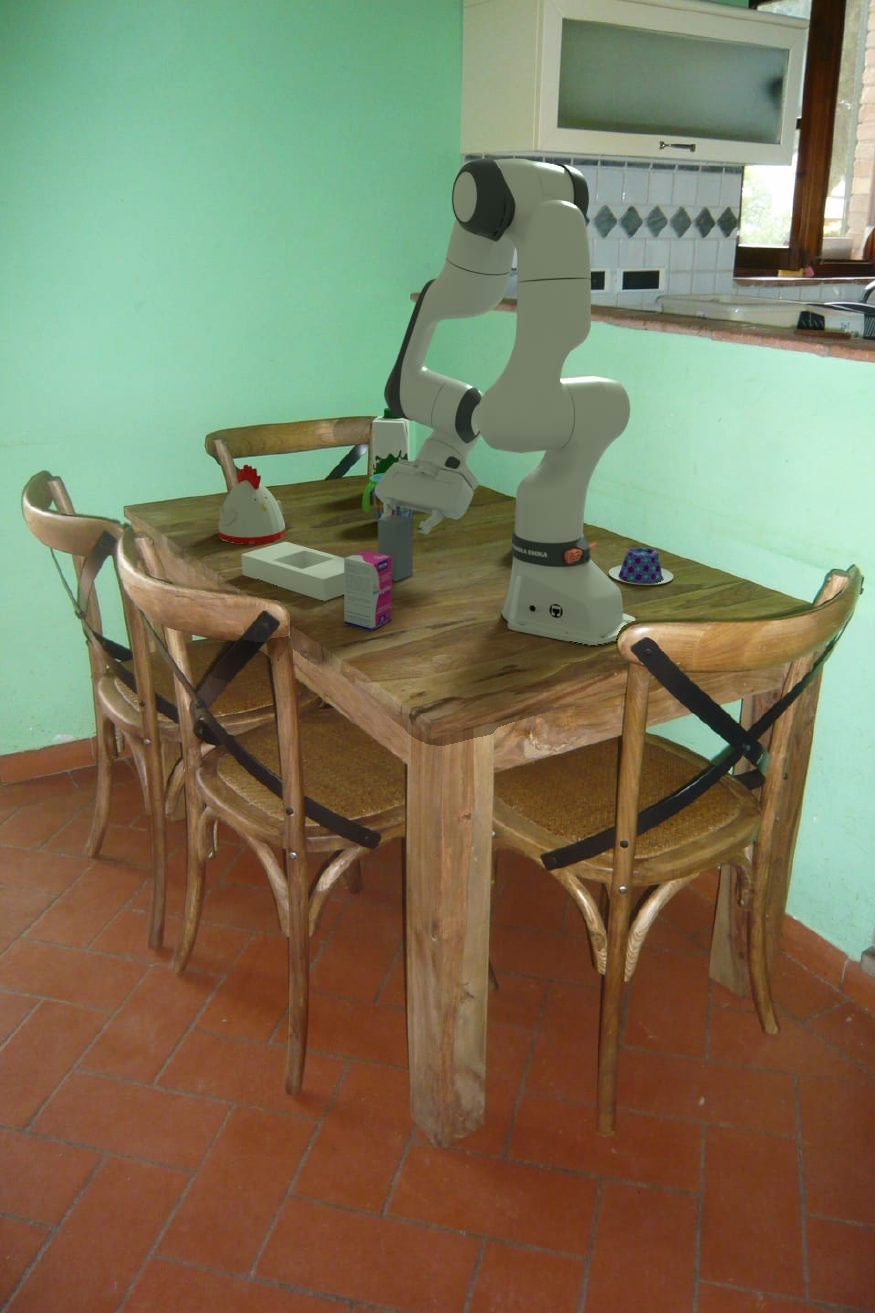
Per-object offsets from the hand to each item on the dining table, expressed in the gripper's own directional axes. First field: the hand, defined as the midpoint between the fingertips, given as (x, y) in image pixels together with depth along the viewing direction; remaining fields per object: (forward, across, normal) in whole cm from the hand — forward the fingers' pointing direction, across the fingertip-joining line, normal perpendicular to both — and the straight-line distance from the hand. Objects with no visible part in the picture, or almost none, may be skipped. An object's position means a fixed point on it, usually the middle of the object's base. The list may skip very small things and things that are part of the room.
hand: (403, 527), depth 184 cm
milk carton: (-25, -44, +38) cm, 63 cm away
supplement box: (+23, +13, -10) cm, 28 cm away
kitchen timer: (+8, -41, +5) cm, 42 cm away
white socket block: (+17, -11, -5) cm, 21 cm away
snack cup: (-11, -25, +24) cm, 36 cm away
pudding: (-13, +35, +26) cm, 46 cm away
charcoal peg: (+8, 0, +5) cm, 9 cm away
